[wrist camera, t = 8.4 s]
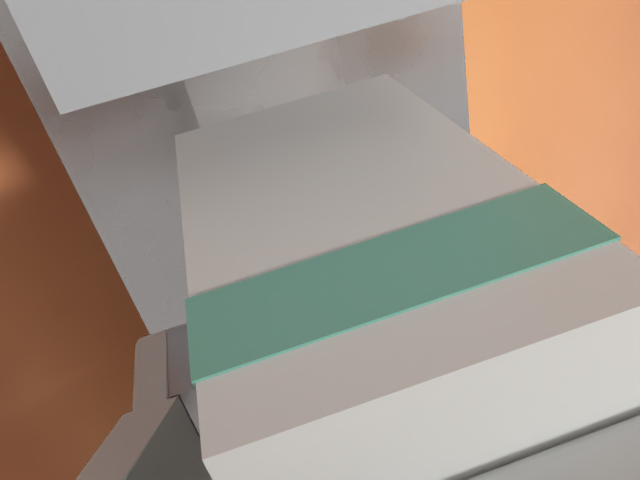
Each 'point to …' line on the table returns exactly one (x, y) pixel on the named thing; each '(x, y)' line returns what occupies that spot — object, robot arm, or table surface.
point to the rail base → (210, 108)
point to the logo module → (392, 296)
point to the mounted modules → (177, 38)
